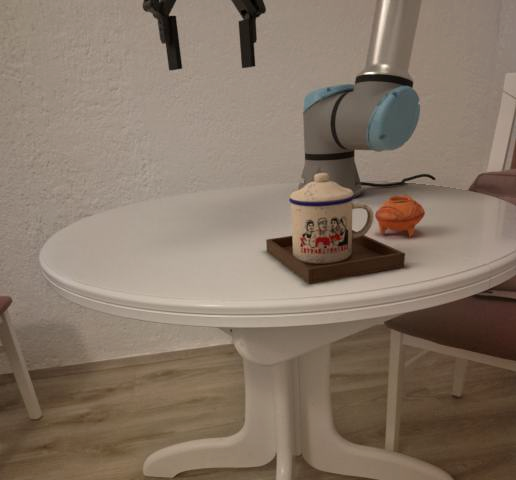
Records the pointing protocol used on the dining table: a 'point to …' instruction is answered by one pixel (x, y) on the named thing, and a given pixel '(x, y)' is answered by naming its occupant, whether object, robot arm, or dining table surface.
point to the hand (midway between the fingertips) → (213, 68)
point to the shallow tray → (360, 261)
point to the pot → (399, 214)
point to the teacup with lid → (324, 221)
